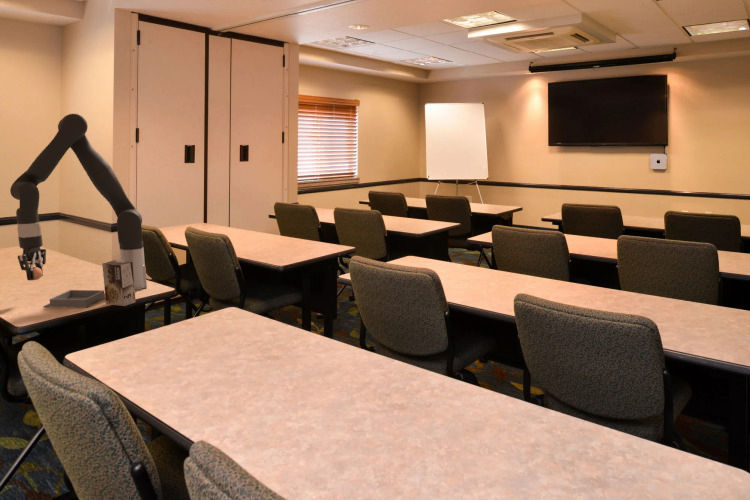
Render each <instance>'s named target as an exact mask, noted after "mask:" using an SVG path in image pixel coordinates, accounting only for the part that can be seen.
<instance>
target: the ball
mask: <svg viewBox="0 0 750 500" xmlns="http://www.w3.org/2000/svg"><path fill="white" fill-rule="evenodd" d="M32 271H33V274H34V280H33V281H37V280H38V281H39V280H40V278H42V277H43V276H42V271H43V270H42V271H41V269H40V268H38V267H35V266H33V270H32ZM41 276H42V277H41Z"/></svg>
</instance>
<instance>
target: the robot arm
mask: <svg viewBox="0 0 750 500" xmlns="http://www.w3.org/2000/svg"><path fill="white" fill-rule="evenodd" d="M87 132H88V122H87V119H86V118H85V117H84V116H82V115H81V114H79V113H69V114H67V115H64V117H63V118H61V119H60V120H59V121H58V124H57V133H56V134H55V135H54V137H53V138H52V139H51V141H50V142H49V143H48V145H46V146H45V148H43V150H42V151H40V153H39V154H38V155H37V157H35V159H34V161H32V163H31V164H30V165H29V167H28V169H27V170H25V171H24V172H23V173H21V175H20V176H18V177H17V178H16V179H15V180H14V181H13V183H12V184H11V185H10V188H9V189H10V190H9V191H10V195H11V197H12V198H14V199H16V200H19V207H18V208H17V209H16V211H15V213H16V223H17V224H16V225H17V239H18V246H19V248H20V249H22V254H21V255H20V254H19V255H18V256H17V260H18V262H19V266H20V270H21V271H25V272H26V279H27V280H28V281H35V280H34V274H33V271H32V270H33V267H38V268H40V269H41V271H42V276H41V278H42V277H43V276H44V274H43V273H44V272H43V271H44V270H43V267H44V265H46V264H47V263H46V261H47V259H46V257H47V250H46V249H45V248H41V247H43V236H42V228H41V224H40V217H39V216H40V215H39V205H40V191H39V188H38V187H37V186H38V185H39V184H41V183H44V182H45V181H47V180H48V178H49V176H50V175H52V172H53V171H54V170H55V169H56V168H57V166H58V165H59V163H60V161H61V160H62V158H64V156H65V154H67V151H68V150H69V149H71V150H72V151H73V153H74V154H75V156H76V158H77V159H78V161H79V163H80V165H81V166H82V169H83V170H84V171H85V173H86V175H87V177H88V178H89V180H90V181H91V184H92V185H93V186H94V188H95V189H96V191H98V192H99V193H100V195H101V196H102V197H103V198H104V199H105V200H106V201H107V202H108V203H109V205H110V206H111V208H112V210H113V211H114V214H115V216H116V217H117V219H116V230H117V241H118V245H119V256H120V261H128V262H133V275H134V289H135V291H136V290H141V289H147V288H148V287H147V286H148V284H147V273H146V272H147V271H146V269H147V268H146V264H145V262H146V261H145V251H144V249H145V248H144V240H143V232H142V224H143V217H142V215H141V213H140V212H139V210H137V208H136V207H135V206H134V204H133V203H132V202H131V200H130V199H129V198H128V197H129V196H127V194H126V193H125V190H124V189H123V185H122V184H121V183H120V180H119V179H118V177H117V175H116V173H115V171H114V170H113V168H112V167H111V166H110V164H109V162H108V161H107V160H106V159H105V158H104V157H103V156H102V155H101V154H100V153H99V152H98V151H96V149H95V148H94V147H93V146H92V144H91V143H90V140H89V139H88V137H87V135H86V133H87Z"/></svg>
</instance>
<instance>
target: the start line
mask: <svg viewBox="0 0 750 500" xmlns="http://www.w3.org/2000/svg"><path fill="white" fill-rule="evenodd" d="M42 307H43V308H49V307H50V302H49V303H47V304H45V305H43V306H42ZM50 308H51V307H50Z"/></svg>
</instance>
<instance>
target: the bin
mask: <svg viewBox="0 0 750 500" xmlns="http://www.w3.org/2000/svg"><path fill="white" fill-rule="evenodd" d="M103 299H106V297H105V289H103V290H99V289H93V290H91V289H68V290H67V291H65V292H62V293H60V294H57V295H56V296H54V297H52V298H50V299H49V303H50V308H85V309H86V308H88V307H90V306H92V305H94V304H96V303H97V302H100V301H101V300H103Z"/></svg>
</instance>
